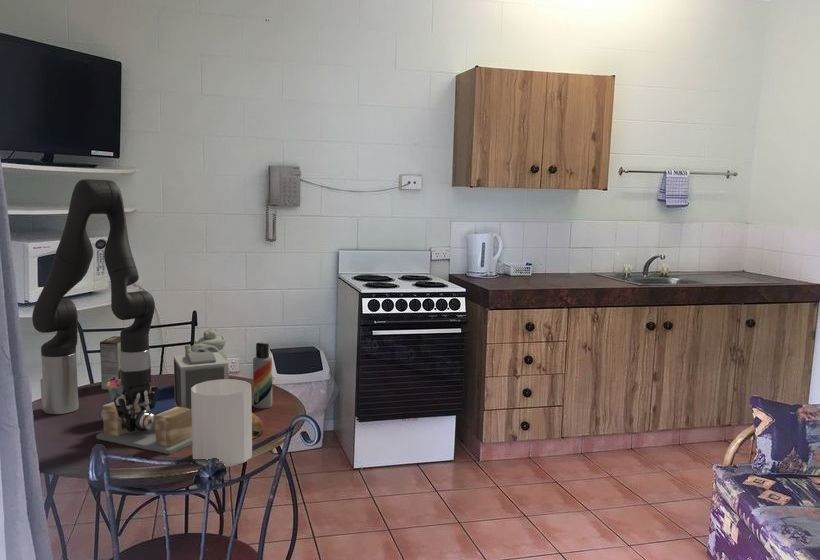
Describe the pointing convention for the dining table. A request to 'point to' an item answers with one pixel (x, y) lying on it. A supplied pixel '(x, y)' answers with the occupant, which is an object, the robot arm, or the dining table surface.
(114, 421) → the guide block
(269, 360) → the lotion bottle
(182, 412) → the socket block
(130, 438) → the base mat
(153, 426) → the tube
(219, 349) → the grey lumpy piece
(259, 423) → the bread roll
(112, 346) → the coffee box
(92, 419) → the dining table surface
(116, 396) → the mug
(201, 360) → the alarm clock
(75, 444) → the dining table surface
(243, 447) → the container
